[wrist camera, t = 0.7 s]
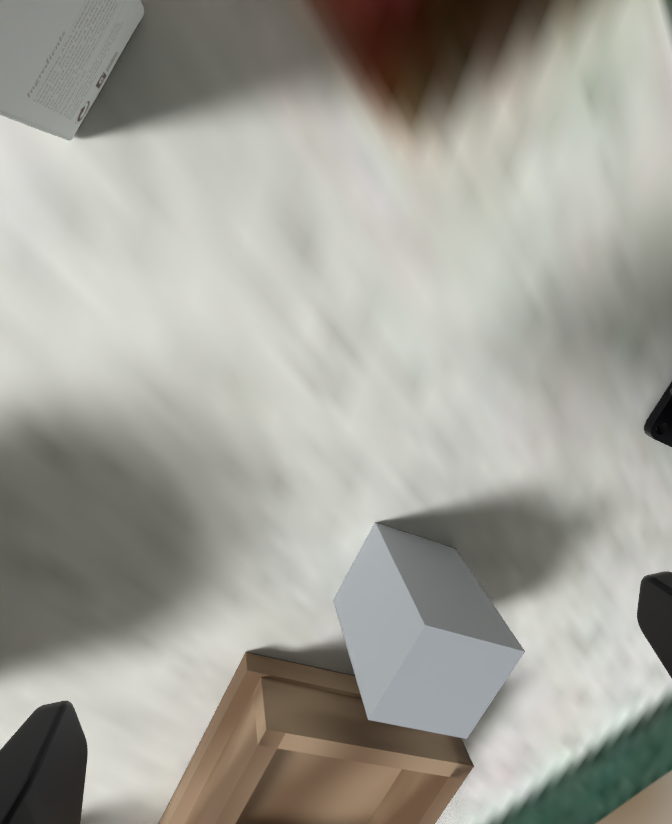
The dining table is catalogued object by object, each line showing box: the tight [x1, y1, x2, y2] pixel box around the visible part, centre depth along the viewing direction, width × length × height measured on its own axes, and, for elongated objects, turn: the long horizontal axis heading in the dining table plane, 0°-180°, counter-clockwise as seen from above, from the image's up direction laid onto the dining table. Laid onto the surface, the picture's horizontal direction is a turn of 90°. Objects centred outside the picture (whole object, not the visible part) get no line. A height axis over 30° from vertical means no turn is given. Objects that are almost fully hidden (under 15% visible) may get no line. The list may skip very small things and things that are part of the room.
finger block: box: [333, 522, 525, 739], centre depth 22 cm, size 4×4×6 cm
